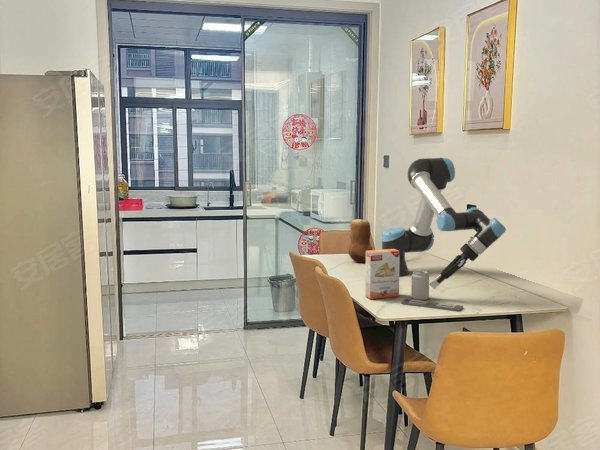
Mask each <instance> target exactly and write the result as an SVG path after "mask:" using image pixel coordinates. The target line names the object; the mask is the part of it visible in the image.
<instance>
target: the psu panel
mask: <svg viewBox="0 0 600 450" xmlns="http://www.w3.org/2000/svg"><path fill="white" fill-rule="evenodd" d="M401 305H408V306H413V307H414V306H415V307H422V308H430V309H437V310H445V311H452V312H458V313H459V312H461V310H462V309H464V306H463V305H458V304H450V303H442V302H436V301H427V300H423V301H421V300H414V299H413V298H406V299H405V300H404V299H403V300H402V301H401Z"/></svg>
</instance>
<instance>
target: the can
mask: <svg viewBox="0 0 600 450" xmlns="http://www.w3.org/2000/svg"><path fill="white" fill-rule="evenodd" d="M428 273H429V272H428V271H426V270H414V271H412V274H411V292H410V293H411V299H413V300H421V301H427V300H428V299H429V298H430V275H429V274H428Z"/></svg>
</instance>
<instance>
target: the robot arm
mask: <svg viewBox="0 0 600 450" xmlns="http://www.w3.org/2000/svg"><path fill="white" fill-rule="evenodd" d="M455 169H456V168H455V165H454V163H453V161H452V160H451V159H450V158H448V157H447V158H446V157H434V158H431V157H430V158H429V157H427V158H425V157H424V158H422V157H421V158H418V159H416V160H414V161H413V162H411V164H410V165H409V167H408V169H407V180H408V182H409V184H410V185H411V186H412V188H413V189H416V190H417V191H418V192H419V194H420V195H421V196H420V200H419V203H418V207H417V211H416V214H415V218H414V220H413V222H412V223H411V224H410V225H409V228H408V229H405V228H403V227H393V228H387V229H386V230H383V232H382V235H381V247H382V248H381V250H385V249H396V250H398V251H400V264H399V277H403V276H408V274H409V268H408V267H409V266H408V265H407V262H406V253H417V252H419V253H422V252H426V251H429V250H431V248H432V247H433V245H434V243H435V242H434V241H435V239H434V238H435V236H434V232H433V231H432V230H433V229H432V228H431V225H432V223H433V218H434V216H436V217H437V218H436V227H437V229H438V230H439V231H442V232H454V231H456V232H457V231H469V230H474V231H475V232H476V233H475V234H474V235H473V236H470V239H468V240H467V242H466V243H464V244H463V245H462V246H461V247H460V248H459V250H460V251H461V252H462V253H461V254H458V255H456V256H455V257H454V259H453V260H452V261H451V262H449V264H448V265H447V266H446V267H445V268H444V269H442V271H441V272H439V273H440V274H439V275H438V276H437V277H435V278H434V279H433V281H431V282H429V287H430V288H432V289H433V290H435V289H436V288H438V286H440V285H441V284H442V283H443V282H444V281H445V280H448V279H449V278H450V277H452V275H454V274H455V273H456V272H457V271H459V270H460V269H462V268H463V267H464V266H465V264H466V263H467V261H468V259H469V260H470V261H471V262H474V261H475V260H476V259H477V258H479V255H482V254H483V253H484V252H486V250H488V248H489V247H490V246H492V244H494V243H495V242H496V241H497V240H498V239H500V238H501V237H502V236H503V234H504V233H506V230H507V228H506V226H504V225H503V224H502V223H501V222H500V221H499V220H498V219H497V218H496V217H492V218H491V219H490V218H489V217H488V216H487V215H486V214H485V213H484V211H482V210H481V209H479V208H478V207H475V206H472V207H470V208H467V210H465V212H456V210H455V209H454V208H453V207H452V205H451V204H450V203H449V201H448V200H447V199H446V197H445V196H444V195H443V194H442V190H445V189H446V187H447V184H448V183H450V182H453V181H454V180H455V177H456V175H455V174H456V170H455Z"/></svg>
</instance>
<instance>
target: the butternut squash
mask: <svg viewBox="0 0 600 450" xmlns="http://www.w3.org/2000/svg"><path fill="white" fill-rule="evenodd" d="M349 227H350V234H349V238H350V243H349V245H348V256H349V257H350V259H351V260H353V261H354V262H358V263H359V264H361V263H362V264H366V251H370V250H374V249H373V246H372V244H371V223H370V221H369V220H366V219H362V218H361V219H360V218H357V219H356V218H355V219H353V220H352V221H351V222H350V226H349Z"/></svg>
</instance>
